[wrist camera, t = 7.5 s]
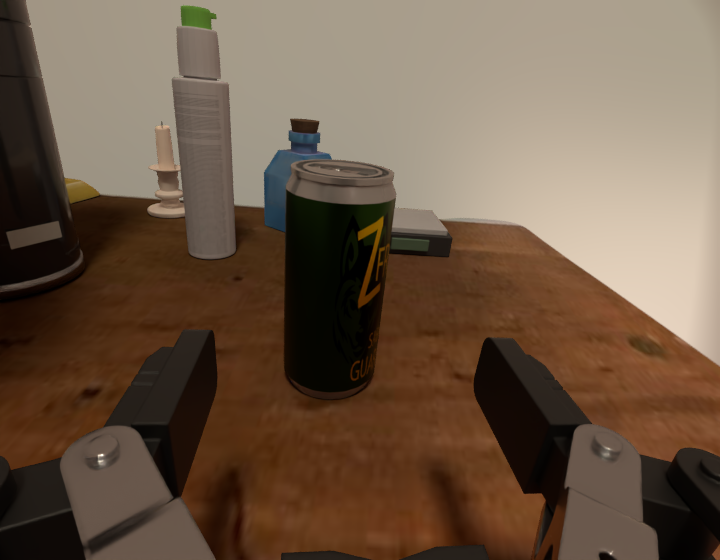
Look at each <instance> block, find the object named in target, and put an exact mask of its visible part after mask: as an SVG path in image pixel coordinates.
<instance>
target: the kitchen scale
mask: <svg viewBox="0 0 720 560" xmlns="http://www.w3.org/2000/svg"><path fill="white" fill-rule="evenodd" d="M451 243H452V237H451V236H450V234H449V233H448V231H447V229H446V228H445V227H444V226H443V224H442V223H441V222H440V220H439V219H438V218H437V216H436V215H435V214H434V212H433V211H432V210H418V209H405V208H394V216H393V224H392V232H391V240H390V248H389V253H397V254H412V255H427V256H442V257H449V253H450V248H451Z"/></svg>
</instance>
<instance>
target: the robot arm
mask: <svg viewBox="0 0 720 560" xmlns="http://www.w3.org/2000/svg"><path fill="white" fill-rule="evenodd" d="M30 25H31V23H30V20H29V14H28V10H27V6H26V0H0V300H4V299H10V298H16V297H22V296H26V295H30V294H34V293H38V292H42V291H45V290H48V289H51V288H54V287H57V286H59V285H61V284H64V283H66V282H68V281H70V280H72V279H73V278H75V277H76V276H78V275H79V274H80V273H81V272H82V271H83V269H84V267H85V263H84V258H83V254H82V251H81V249H80V243H79V240H78V237H77V233H76V228H75V224H74V219H73V214H72V210H71V205H70V201H69V196H68V192H67V187H66V183H65V178H64V174H63V169H62V164H61V160H60V155H59V151H58V146H57V142H56V137H55V133H54V128H53V124H52V119H51V115H50V110H49V106H48V102H47V96H46V92H45V87H44V83H43V78H42V74H41V70H40V65H39V60H38V56H37V51H36V47H35V42H34V37H33V33H32V28H31V27H29V26H30ZM216 388H217V364H216V351H215V338H214V333H213V331H212V330H186V329H185V330H183V332H182V333H181V335H180V337H179V339H178V340H177V342H176V344H175V346H174V347H162V348H160V349H159V350H158V351H156V352H155V353H154V354H152V355H151V356H149V357H148V358H147V359H146V361H145V362H144V364H143V365H142V367H141V369H140V370H139V372H138V374H137V375H136V376H135V378H134V380H133V381H132V383H131V386H129V387H128V389H127V391H126V392H125V394H124V395H123V397H122V398H121V400H120V402H119V403H118V405H117V406H116V408H115V409H114V411H113V413H112V414H111V416H110V417H109V419H108V420H107V422H106V424H105V425H104V427H103V428H100V429H97V430H94V431H92V432H90V433H88V434H86V435H84V436H83V437H81V438H79V439H78V440H77V441H75V442H74V443H73V444H72V445H71V446H70V447H69V448H68V449H67V450H66V452H65V453H64V455H63V457H61V458H58V459H54V460H51V461H47V462H43V463H39V464H35V465H30V466H26V467H22V468H18V469H14V470H11V469H10V466H9V464H8V462H7V460H6V459H5V458H3V457H2V456H0V560H216V559H215V557H214V556H213V554H212V552H211V550H210V548H209V546H208V545H207V543H206V541H205V539H204V537H203V535H202V534H201V532H200V530H199V528H198V526H197V524H196V523H195V521H194V519H193V517H192V515H191V513H190V512H189V510H188V508H187V506H186V504H185V503H184V501H183V500H182V498H181V495H182V492H183V489H184V486H185V483H186V480H187V477H188V474H189V471H190V469H191V466H192V463H193V460H194V457H195V454H196V451H197V448H198V445H199V442H200V439H201V436H202V433H203V430H204V427H205V424H206V421H207V418H208V415H209V412H210V409H211V406H212V403H213V400H214V397H215V394H216ZM474 393H475V397H476V399H477V402H478V404H479V406H480V407H481V409H482V411H483V413H484V415H485V417H486V419H487V421H488V423H489V425H490V427H491V429H492V431H493V433H494V435H495V437H496V439H497V441H498V443H499V445H500V447H501V449H502V451H503V453H504V455H505V457H506V459H507V461H508V463H509V465H510V467H511V469H512V471H513V473H514V475H515V477H516V479H517V481H518V483H519V485H520V487H521V489H522V491H523V493H524V494H534V493H542V494H543V496H544V498H545V500H546V501H545V503H544V505H543V508H542V511H541V516H540V520H539V525H538V529H537V534H536V538H535V542H534V547H533V551H532V556H531V560H716V559H715V558H714V557H713V556H712V554H713V552H714V551H715V550H716V548H717V547H718V546H719V544H720V457H718V456H716V455H714V454H712V453H710V452H707V451H704V450H701V449H696V448H683V449H680V450H679V451H678V452H677V454H676V456H675V457H674V459H673V461H672V462H669V461H664V460H660V459H656V458H652V457H648V456H644V455H640V454H639V453H638V451H637V450H636V449H635V447H634V446H633V445H632V444H631V443H630V442H629V441H628V440H627V439H625V438H624V437H623V436H621V435H620V434H618V433H616V432H614V431H612V430H610V429H608V428H605V427H603V426H599V425H594V424H592V423H591V422H590V421H589V419H588V418H587V417H586V416H585V414H584V413H583V412H582V411H581V409H580V408H579V407H578V406H577V405H576V403H575V402H574V401H573V400H572V398H571V397H570V396H569V395H568V394H567V392H566V391H565V390H563V387H562V386H561V385H560V384H559V382H558V381H557V380H555V379H554V376H553V375H552V374H551V373H550V371H549V370H548V369H547V368H546V366H545V365H543V364H542V363H541V362H539V361H538V360H536V359H535V358H534V357H532V356H531V355H526V354H525V353H524V351H523V350H522V349H521V348H520V346H519V345H518V344H517V342H516V341H515V340H514V339H513V338H486V339H485V341H484V343H483V346H482V350H481V354H480V357H479V361H478V365H477V369H476V373H475V377H474ZM281 560H370V559H366V558H362V557H358V556H353V555H349V554H345V553H341V552H336V551H318V552H294V553H282V554H281ZM400 560H489V557H488V555H487V552H486V549H485V546H484V545H466V546H441V547H434V548H431V549H428V550H426V551H423V552H420V553H417V554H414V555H411V556H408V557H406V558H403V559H400Z"/></svg>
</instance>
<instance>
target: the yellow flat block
mask: <svg viewBox="0 0 720 560" xmlns="http://www.w3.org/2000/svg"><path fill="white" fill-rule="evenodd" d="M65 183H66V187H67V192H68V196H69V201H70V204H72V203H75V202H78V201H82V200H86V199H89V198H93V197H96V196H99V195H100V193H99V192H97V191H96V190H95V189H94V188H93V187H91V186H90V185H88V184H87V183H85V182H83V181H81V180H75V179H68V178H65Z"/></svg>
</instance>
